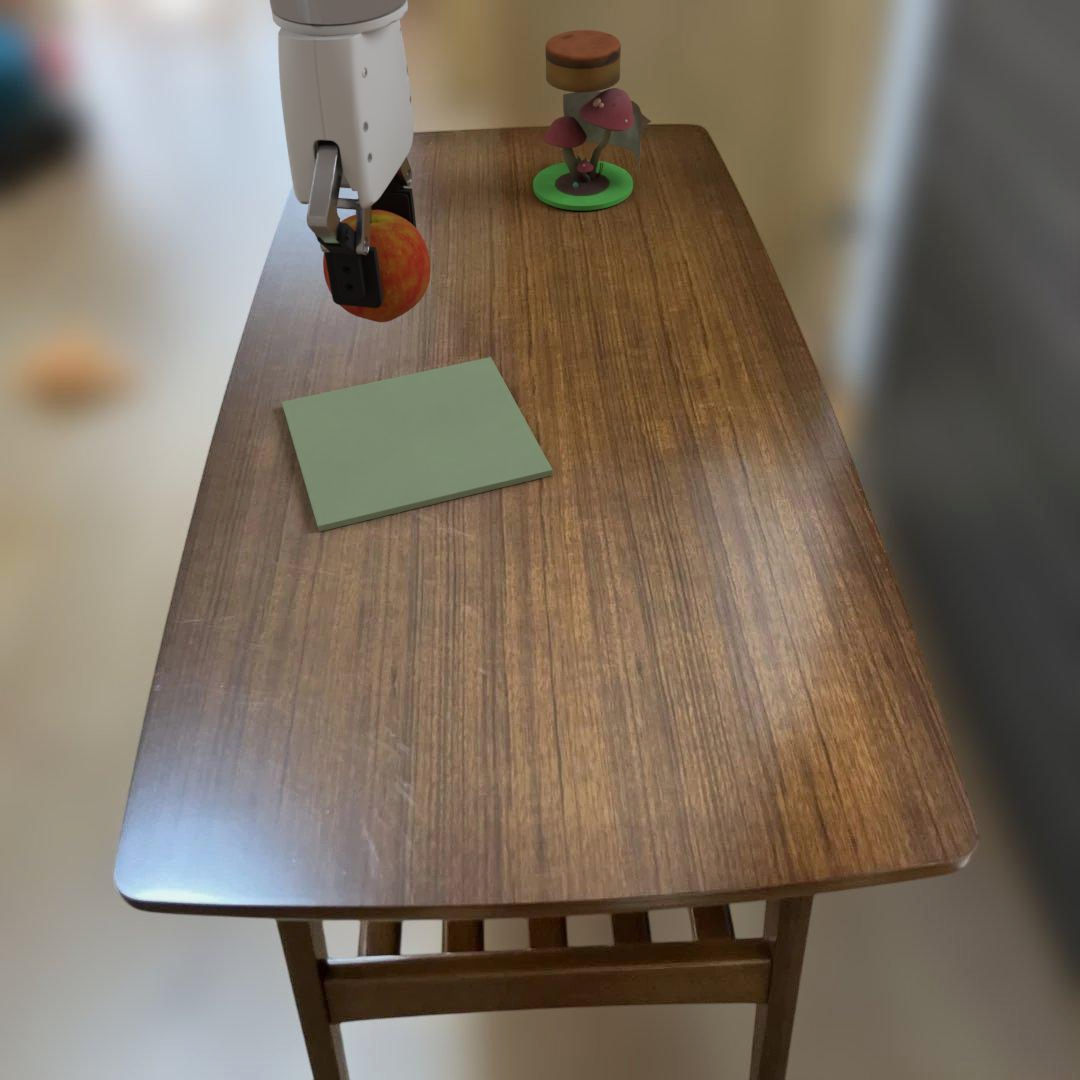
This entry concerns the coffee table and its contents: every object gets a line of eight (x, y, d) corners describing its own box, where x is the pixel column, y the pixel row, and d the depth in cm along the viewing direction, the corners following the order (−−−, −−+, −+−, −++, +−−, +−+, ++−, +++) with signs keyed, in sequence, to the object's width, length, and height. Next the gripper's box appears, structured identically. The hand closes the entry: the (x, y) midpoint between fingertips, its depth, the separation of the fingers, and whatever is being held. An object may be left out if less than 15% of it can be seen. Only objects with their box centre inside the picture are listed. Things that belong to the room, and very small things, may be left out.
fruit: (418, 346, 73) (405, 234, 67) (317, 336, 74) (296, 225, 68) (446, 290, 78) (436, 181, 72) (351, 282, 79) (334, 173, 73)
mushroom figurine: (613, 226, 113) (616, 76, 102) (508, 198, 118) (500, 52, 107) (666, 178, 120) (674, 34, 110) (564, 154, 125) (563, 13, 115)
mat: (318, 532, 81) (317, 526, 81) (282, 407, 92) (281, 401, 92) (552, 475, 85) (552, 469, 85) (491, 362, 96) (490, 356, 96)
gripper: (324, -65, 68) (363, 207, 80) (208, 38, 56) (275, 340, 68) (444, -61, 67) (464, 214, 79) (351, 46, 55) (393, 352, 67)
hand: (377, 270), depth 73 cm, fingers closed on fruit, 7 cm apart
